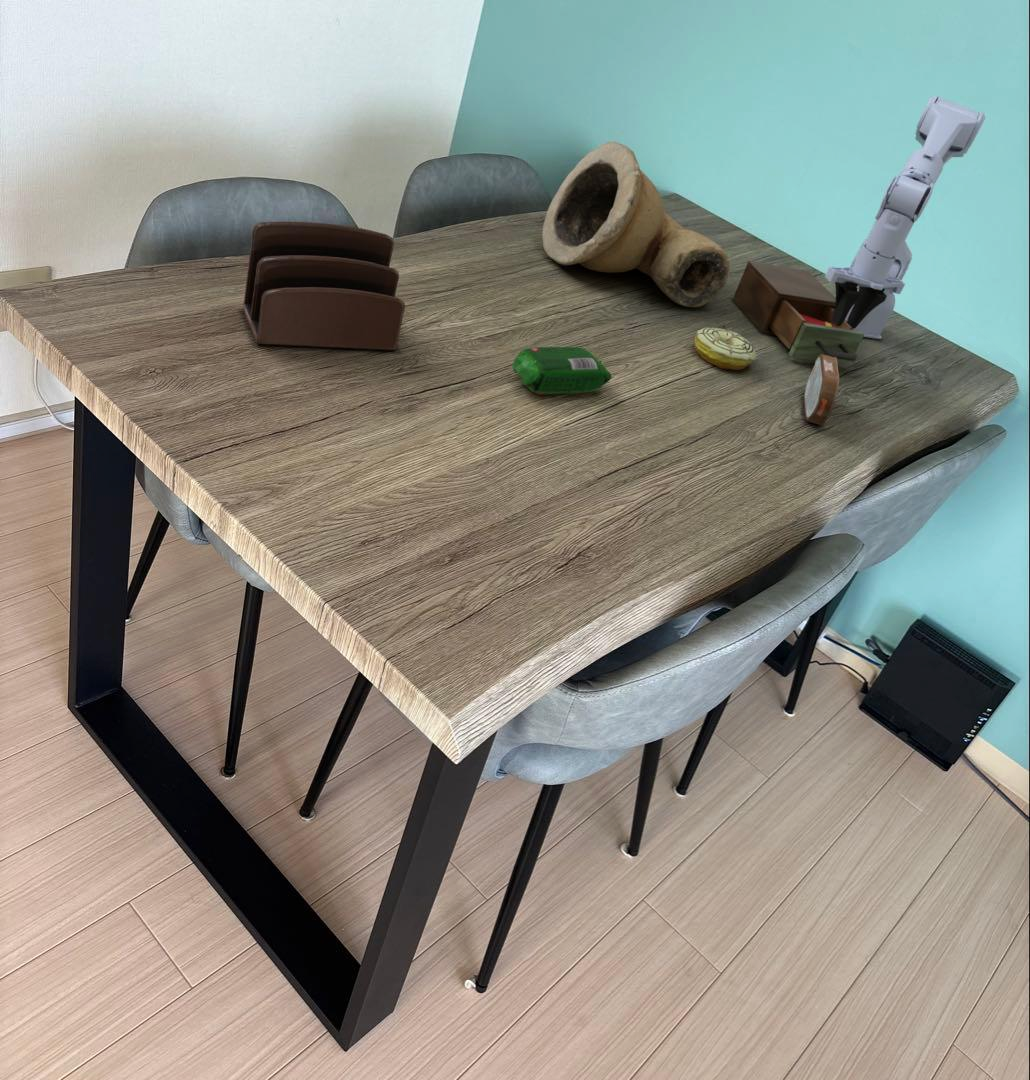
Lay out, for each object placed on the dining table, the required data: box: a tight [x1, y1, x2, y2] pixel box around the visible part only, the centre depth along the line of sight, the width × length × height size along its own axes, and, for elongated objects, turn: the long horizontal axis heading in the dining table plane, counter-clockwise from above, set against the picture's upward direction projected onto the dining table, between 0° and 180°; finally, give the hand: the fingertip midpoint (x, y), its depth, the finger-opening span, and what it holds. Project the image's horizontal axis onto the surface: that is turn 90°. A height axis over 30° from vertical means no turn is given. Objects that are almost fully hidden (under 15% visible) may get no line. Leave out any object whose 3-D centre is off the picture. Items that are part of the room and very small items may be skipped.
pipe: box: [541, 141, 731, 308], centre depth 190 cm, size 23×29×30 cm
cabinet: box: [731, 260, 836, 337], centre depth 193 cm, size 14×14×8 cm
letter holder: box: [242, 221, 406, 352], centre depth 140 cm, size 10×20×14 cm, turn 113°
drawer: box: [769, 298, 864, 366], centre depth 183 cm, size 17×12×6 cm
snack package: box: [512, 346, 612, 396], centre depth 148 cm, size 7×16×5 cm, turn 118°
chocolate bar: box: [800, 314, 836, 327], centre depth 185 cm, size 8×4×3 cm, turn 81°
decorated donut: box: [694, 327, 757, 371], centre depth 173 cm, size 10×11×4 cm
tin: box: [803, 354, 840, 427], centre depth 164 cm, size 15×3×8 cm, turn 168°
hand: (843, 324), depth 177 cm, fingers open, 3 cm apart
